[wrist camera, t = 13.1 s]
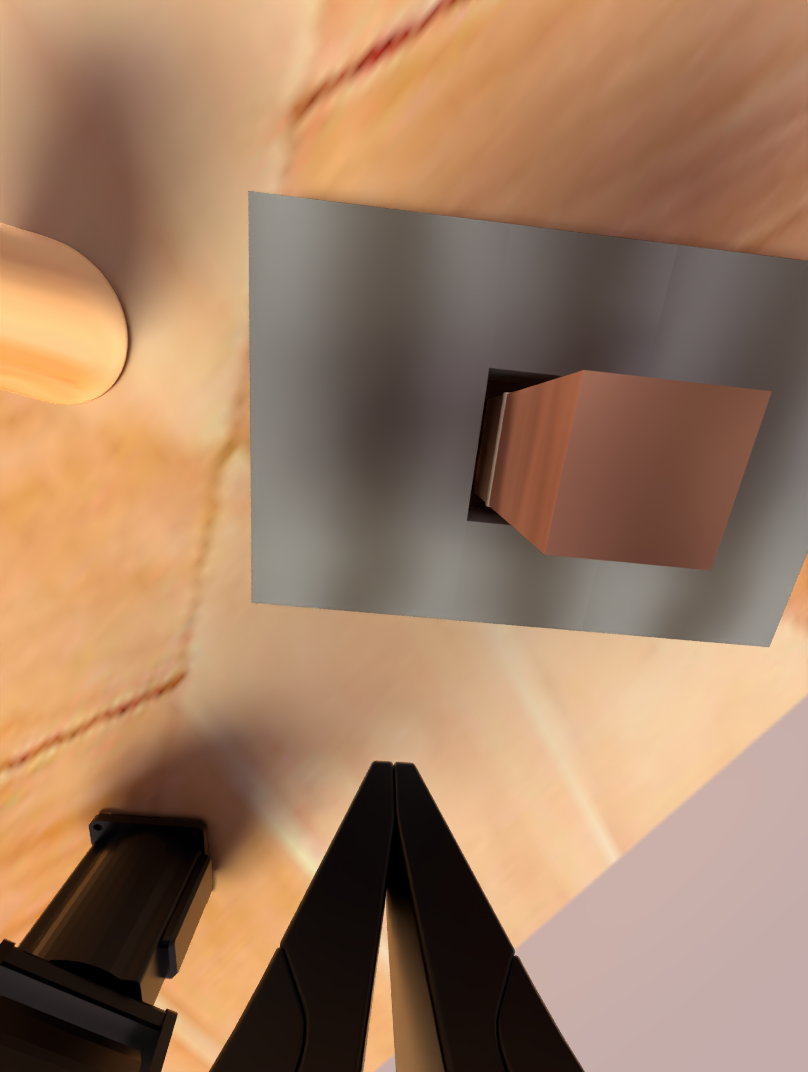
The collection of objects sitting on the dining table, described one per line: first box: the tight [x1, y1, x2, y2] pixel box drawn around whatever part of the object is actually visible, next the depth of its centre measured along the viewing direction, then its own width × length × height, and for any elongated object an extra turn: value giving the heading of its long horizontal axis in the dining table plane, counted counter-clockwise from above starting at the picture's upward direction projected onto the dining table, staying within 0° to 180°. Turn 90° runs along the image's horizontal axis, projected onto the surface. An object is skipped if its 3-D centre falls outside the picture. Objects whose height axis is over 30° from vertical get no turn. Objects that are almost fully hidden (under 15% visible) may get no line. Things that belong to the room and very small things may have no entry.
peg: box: [474, 370, 772, 571], centre depth 13 cm, size 4×4×9 cm
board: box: [248, 191, 808, 647], centre depth 16 cm, size 22×14×3 cm, turn 84°
